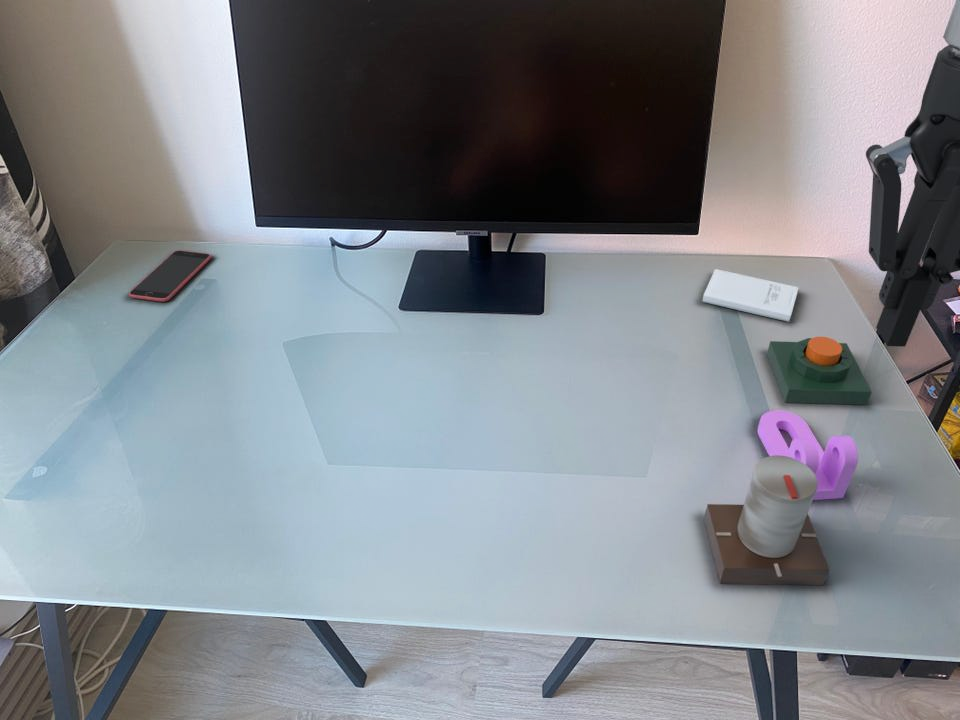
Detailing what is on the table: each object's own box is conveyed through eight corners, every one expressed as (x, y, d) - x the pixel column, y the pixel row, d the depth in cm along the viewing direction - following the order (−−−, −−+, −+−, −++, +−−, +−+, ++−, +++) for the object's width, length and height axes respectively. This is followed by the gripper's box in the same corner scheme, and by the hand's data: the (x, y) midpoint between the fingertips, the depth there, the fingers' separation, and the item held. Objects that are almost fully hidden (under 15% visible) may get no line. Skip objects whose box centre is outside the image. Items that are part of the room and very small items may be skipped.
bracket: (842, 498, 82) (861, 453, 78) (793, 501, 82) (809, 456, 78) (795, 417, 92) (809, 373, 88) (750, 420, 92) (762, 376, 88)
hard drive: (713, 276, 118) (797, 294, 114) (701, 303, 112) (788, 323, 108) (715, 267, 117) (799, 285, 113) (703, 294, 111) (791, 313, 107)
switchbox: (866, 405, 94) (876, 380, 92) (784, 402, 95) (792, 378, 92) (842, 355, 102) (850, 331, 99) (766, 353, 102) (773, 330, 100)
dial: (731, 512, 78) (748, 452, 72) (786, 513, 78) (807, 453, 72) (744, 557, 73) (764, 497, 68) (803, 558, 73) (827, 497, 68)
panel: (796, 514, 81) (802, 497, 79) (826, 593, 73) (833, 576, 71) (701, 513, 81) (705, 496, 79) (721, 591, 73) (726, 575, 72)
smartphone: (125, 294, 116) (175, 249, 126) (126, 297, 116) (176, 252, 127) (166, 299, 114) (213, 253, 125) (167, 303, 115) (213, 256, 125)
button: (842, 366, 94) (846, 355, 93) (810, 366, 95) (813, 354, 93) (833, 347, 97) (837, 336, 96) (801, 346, 98) (804, 335, 97)
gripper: (923, 69, 48) (825, 361, 62) (1140, 70, 47) (989, 366, 62) (882, 36, 54) (801, 310, 68) (1074, 36, 53) (950, 313, 67)
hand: (890, 336), depth 65 cm, fingers closed
